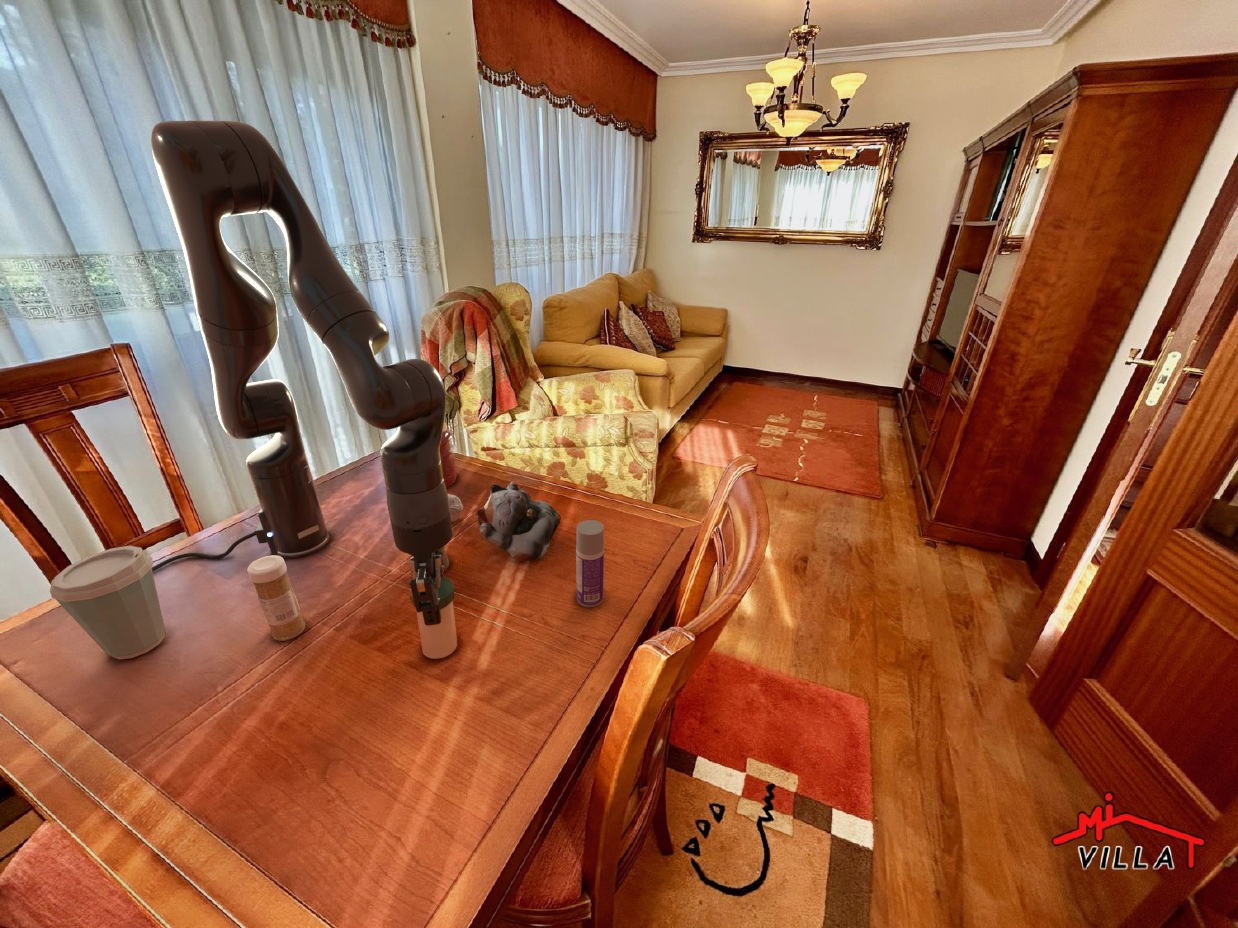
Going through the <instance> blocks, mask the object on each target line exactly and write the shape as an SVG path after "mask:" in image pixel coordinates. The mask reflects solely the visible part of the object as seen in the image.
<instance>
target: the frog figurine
mask: <svg viewBox="0 0 1238 928" xmlns="http://www.w3.org/2000/svg"><path fill="white" fill-rule="evenodd" d="M447 494H448V501H449V509H450V516H451V523H455V522H456V521H457V520H458V519H460V516H461V515H462V511H463V509H464V505H463V503H462V501H461V499H460V498H459V497H458V496H456V495H454V494H451V493H447Z"/></svg>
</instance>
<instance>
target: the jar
mask: <svg viewBox="0 0 1238 928" xmlns="http://www.w3.org/2000/svg"><path fill="white" fill-rule="evenodd" d="M415 612H416V613H415V614H416V620H417V626H418V633H419V639H420V646H421V651H422V654H423V655H424V656H425V657H426V658H428V659H431V660H432V659H433V660H435V659H436V660H438V659H443V658H446V657H448V656H450V655H451V654H453V652H454V651H455V650H456V649H457V647H458V634H457V625H456V615H455V607H454V600H453V601H452V602H451V603H450V604H449V605H448V606H446V607H444V608H442V609H440V613H441V623H440V624H437V625H429V626H428V625H425V623H424V618H423V612H418V613H417V611H416V610H415Z"/></svg>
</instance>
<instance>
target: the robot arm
mask: <svg viewBox="0 0 1238 928" xmlns="http://www.w3.org/2000/svg"><path fill="white" fill-rule="evenodd" d="M150 136H151V137H150V145H151V151H152V156H153V160H154V165H155V168H156V171H157V175H158V177H159V182H160V184H161V187H162V190H163V193H164V196H165V199H166V202H167V205H168V208H169V210H170V214H171V216H172V220H173V223H174V226H175V228H176V232H177V234H178V237H179V241H180V244H181V247H182V251H183V254H184V259H185V262H186V268H187V270H188V275H189V280H190V286H191V292H192V297H193V303H194V308H195V310H196V316H197V320H198V324H199V328H200V333H201V335H202V339H203V342H204V346H205V350H206V353H207V357H208V360H209V365H210V370H211V371H210V372H211V378H212V385H213V387H212V388H213V395H214V397H213V398H214V402H215V409H216V414H217V418H218V421H219V423H220V425H221V427H222V428H223V430H224V431H225V433H226V434H227V435H228V436H229V437H230V438H232V439H233V440H236V441H237V440H238V441H245V440H253V439H257V438H262V437H267V436H271V435H273V437H272V438H270V440H269V441H267V443H265V444H263V445H262V446H260V447H259V448H257V449H256V450H254V451H253V452H251V453H250V454H249V455H248V456H247V458H246V460H245V461H246V462H245V464H246V468H247V471H248V475H249V476H250V479H251V482H252V485H253V488H254V491H255V494H256V498H257V500H258V503H259V506H260V510H259V512H258V514H257V515H258V519H259V523H258V525H257V527H256V528H255V530H254V531H253V532H251V533H248V534H246V535H244V536H242V537H240V538H239V539H237V540H235V541H234V542H233V543H232V544H231V545H230V546H229V547H228V548H227V550H226V551H225V552H222V553H219V554H208V553H207V554H206V553H203V552H202V553H201V552H186V553H182V554H181V553H180V554H178V555H175V556H172V557H169V558H168V559H165V560H163V561H161V562H160V563H158V564H156V565H153V566H152V572H153V573H154V572H155V571H157V570H159V569H160V568H163V567H164V566H166V565H168V564H170V563H172V562H175V561H178V560H181V559H184V558H185V559H186V558H190V557H191V558H192V557H195V558H202V559H208V560H219V559H222V558H223V559H224V558H226V557H227V556H229V555H230V554H231V553H232V552H233V551H234V549H235V548H236V547H237V546H238V545H240V544H241V543H243V542H244V541H247V540H249V539H251V538H253V537H255V536H256V539H257V542H258V544H260V545H261V544H267V545H268V548H269V551H270V554H271V555H276V556H280V557H282V558H283V559H284V558H286V559H295V558H300V557H302V558H303V557H305V556H308V555H311V554H314V553H316V552H319V550H321V549H323V548H324V547H325V546H327V545H328V543H329V541H330V533H329V531H328V528H327V524H326V521H325V518H324V517H325V516H324V514H323V510H322V506H321V502H320V500H319V495H318V493H317V489H316V485H315V480H314V478H313V474H312V470H311V467H310V463H309V460H308V457H307V453H306V448H305V443H304V440H303V435H302V432H301V427H300V422H299V416H298V412H297V407H296V403H295V400H294V396H293V395H292V392H291V390H290V389H289V387H288V386H287V384H286V383H285V382H283V381H282V380H280V379H276V378H275V379H267V380H266V379H265V380H262V381H255V382H254V381H253V382H249V381H250V379H251V377H252V376H253V375H254V374H255V373H256V372H257V370H258V369H259V368H260V367H261V366H262V365H263V364H264V363H265V361H266V360H267V359H268V357H270V355H271V354H272V352H273V350H274V349H275V347H276V345H277V343H278V340H279V334H280V331H279V319H278V317H279V316H278V307H277V301H276V298H275V296H274V294H273V292H272V290H271V289H270V287H269V285H267V284H266V282H265V281H264V280H263V279H262V278H261V277H260V276H259V275H258V273H256V272H255V271H253V270H252V268H250V267H249V266H248V265H247V264H246V263H245V262H243V261H242V260H241V259H240V258H239V257H238V256H237V255H236V254H235V253H234V251H232V250H231V249H230V247H229V246H228V245H227V244H226V242H225V240H224V237H223V235H222V231H221V221H222V218H226V217H235V216H243V215H251V214H260V213H267V214H268V215H269V216H270V217H272V219H273V220H274V221H275V223H276V224H277V225H278V226H279V227H280V230H281V232H282V233H283V236H284V239H285V244H286V252H287V279H288V280H287V281H288V283H287V284H288V288H289V292H290V295H291V298H292V301H293V304H294V306H295V308H296V309H297V311H298V313H299V315H300V316H301V317H302V319H303V320H304V322H305V323H306V324H307V325H308V326H309V328H310V329H311V330H312V332H313V333H314V334H315V336H316V337H317V338H318V339H319V341H320V342H321V343H322V344H323V346H324V347H325V348H326V349H327V350H328V352H329V353H330V355H331V358H332V360H333V362H334V364H335V365H334V366H335V367H336V369H337V372H338V374H339V376H340V378H341V381H342V384H343V385H344V388H345V390H346V394H347V396H348V398H349V401H350V404H351V405H352V408H353V409H354V411H355V412H356V414H357V415H358V416H359V417H360V418H361V419H362V420H363V421H364V422H365V423H367V424H368V425H370V426H371V427H373V428H376V429H379V430H383V431H388V430H389V431H390V430H394V429H396V428H397V429H398V427H399V429H398V431H397V430H396V431H397V432H396V431H395V433H394V434H393V435H392V436H391V437H390V438H389V439H387V440H386V441H385V442H384V443H383V444H382V446H381V448H380V453H379V454H380V463H381V468H382V469H381V470H382V473H383V478H384V483H385V489H386V505H387V510H388V511H387V512H388V515H389V520H390V526H391V531H392V536H393V541H394V545H395V547H396V548H397V549H398V551H400V552H402V553H404V554H407V555H410V556H411V557H410V559H409V565H410V566H409V567H410V570H411V572H412V578H411V579H409V586H410V591H411V590H412V594H413V599H414V603H415V607H416V608H415V607H414V608H415V612H416V611H417V613H418V612H423V618H424V623H425V625H428V626H429V625H437V624H440V623H441V613H440V607H439V598H438V588H439V587H440V586H441V576H443V577H445V576H444V572H445V571H444V559H445V555H444V550H443V549H444V548H445V546H447V545H448V544H449V543H450V542H451V540H452V539H453V533H454V532H453V524H452V522H451V516H450V509H449V501H448V494H449V493H448V490H447V488H446V486H445V483H444V479H443V473H442V465H441V457H440V450H439V449H440V443H441V438H442V432H443V424H444V423H445V415H446V407H447V393H446V388H445V384H444V381H443V378H442V377H441V375H440V373H439V371H438V370H437V369H436V367H435V366H433V365H432V364H431V363H430V362H429V361H426V360H424V359H421V358H409V359H405V360H402V361H398V362H394V363H391V364H387V365H384V366H382V365H381V364H380V363H379V361H378V360H377V357H376V356H377V355H378V354H379V353H380V352H382V351H383V350H384V349H385V348H386V346H387V345H388V343H389V341H390V332H389V329H388V327H387V326H386V324H385V323H384V321H383V320H382V318H381V317H380V315H379V314H378V312H377V311H376V310H375V309H374V307H373V305H371V304H370V302H369V301H368V299H367V298H366V297H365V296H364V295H363V293H362V292H361V291H360V288H358V287H357V285H356V284H355V283H354V281H353V280H352V279H351V277H350V276H349V274H348V272H346V270H345V268H344V266H342V264H341V262H340V260H339V259H338V257H337V256H336V254H335V252H334V250H333V249H332V247H331V245H330V243H329V242H328V240H327V237H326V236H325V234H324V232H323V230H322V229H321V227H320V225H319V224H318V221H317V220H316V218H315V216H314V214H313V213H312V211H311V208H310V207H309V205H308V203H307V202H306V199H305V198H304V196H303V195H302V194H301V191H300V190H299V187H298V186H297V184H296V183H295V181H294V179H293V177H292V175H291V173H290V172H289V170H288V168H287V167H286V165H285V163H284V162H283V160H282V158H281V157H280V155H279V154H278V153H277V151H276V150H275V148H274V147H273V145H272V144H271V143H270V142H269V141H268V139H267V138H266V137H265V135H263V134H262V132H260V131H259V130H258V129H257V128H256V127H255V126H253V125H251V124H249V123H246V122H242V121H241V122H240V121H233V120H166V121H162V122H158V123H156V124H155V126H153V129H152V131H151V135H150ZM433 578H436V581H435V582H433V580H432V579H433ZM417 613H416V614H417Z"/></svg>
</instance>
